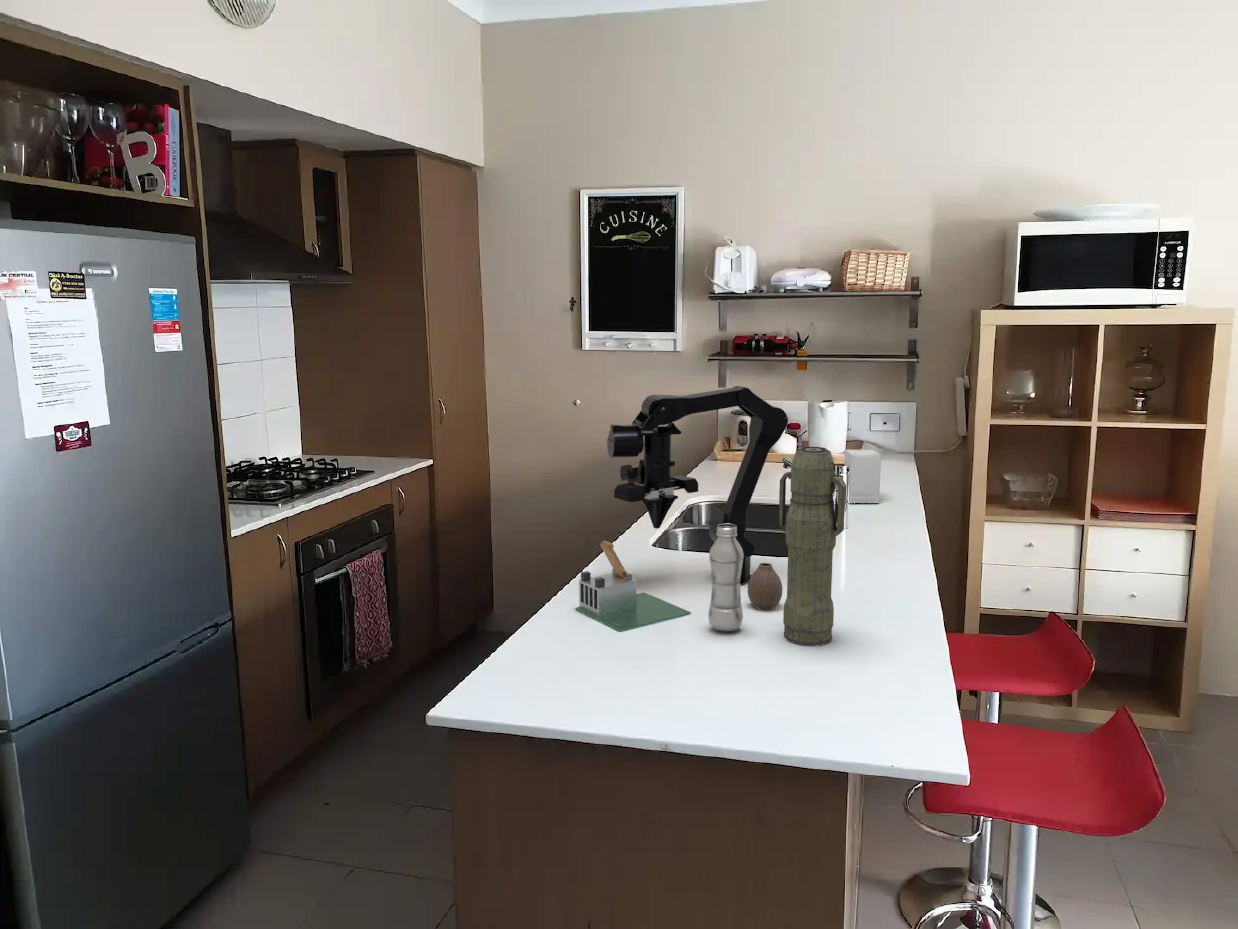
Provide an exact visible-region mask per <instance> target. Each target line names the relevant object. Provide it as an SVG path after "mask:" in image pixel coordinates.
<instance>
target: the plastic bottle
mask: <svg viewBox="0 0 1238 929" xmlns="http://www.w3.org/2000/svg"><path fill="white" fill-rule="evenodd" d="M716 535H717V536H718V539H717V540H716V541H714V542H713V544H712V546H711V547H710V548H709V552H708V554H709V563H710V571H711V595H710V597H711V598H710V604H709V609H708V621H709V625H710V626H711V628H712V629H713V630H714V631H719V632H734V631H737V630H739V629H740V627H742V624H743V620H744V613H743V607H742V600H741V596H742V595H741V584H740V581H741V570H742V564H743V556H744V554H743V550H742V548H741V546H740V544H739V543H738V541H737V540H736V538H735V537H736V536H737V527H736V525H734V524H719V525H717V533H716Z"/></svg>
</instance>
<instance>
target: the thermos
mask: <svg viewBox="0 0 1238 929" xmlns="http://www.w3.org/2000/svg"><path fill="white" fill-rule="evenodd" d="M834 461H835V460H834V458H833V455H832V451H830V450H828V448H826V447H822V446H821V447H820V446H802V447H800V448H799V449H796V450H795V453H794V455H793V458H792V461H791V463H790V464H791V465H790V471H786V472H785V473H784V474H783V475H782V476H781V477H780V479H779V493H778V494H779V495H778V496H779V497H778V500H779V501H778V503H779V504H778V505H779V506H778V521H779V522H778V524H779V529H782V530H783V532H785V544H786V547H787V548H788V549H787V581H786V582H787V584H786V599H785V601H784V605H783V612H782V613H783V616H782V618H783V619H782V621H783V622H782V623H783V626H784V629H783V630H784V631H783V638H784V639H785V638H786V639H787V640H788V641H787V640H786V639H785V640H786V641H787V642H789V643H791V644H794V645H798V644H802V645H801V646H804V645H813V646H812V647H815V646H814V645H820V646H823V645H822V644H824V645H827V644H829V643H830V641H831V642H832V640H833V633H832V631H833V627H834V615H835V614H834V612H835V611H834V602H833V599H832V583H833V582H832V581H833V555H834V553H833V552H834V549H835V547H836V545H837V544H836V543H837V536H839V535H840V534H842V533H843V531H845V513H846V502H847V501H846V487H847V486H846V484H845V482H844V478H842V477H840V476H837V474H836V473H835V472H836V471H835V470H836V468H835V467H836V465H835V462H834ZM787 479H788V480H790V493H791V495H790V496H791V498H790V500H789V507H788V508H787V509H788V510H787V513H786V497H787V496H786V492H787V491H786V490H787V488H786V487H787ZM835 484H836V486H837V487H838V490H837V494H838V495H837V512H836V511H835V508H834V506H835V505H834V504H835V503H834V502H835V501H834V498H833V496H834V495H833V494H834V493H835ZM836 513H837V514H836ZM831 639H832V640H831Z"/></svg>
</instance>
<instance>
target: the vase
mask: <svg viewBox="0 0 1238 929" xmlns="http://www.w3.org/2000/svg"><path fill="white" fill-rule="evenodd" d="M751 575H752V576H751V577H750V580H748V583H747V596H748V599H749V602H751V604H752V605H753V607H754V608H756V607H757V608H756V609H759V608H760V610H772V608H773V609H774V608H776V607H777V606H778V604H780V602H781V599H782V596H783V584H782V583H783V582H782V580H781V577H780V576H779V575H778V573H777V572H776V571H775V569H774V567H773V565H772V564H771V563H769V562H761V563H759V565H758V567H757V568H756V569H755V571H754V572H753V573H752V574H751Z"/></svg>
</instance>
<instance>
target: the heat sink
mask: <svg viewBox="0 0 1238 929" xmlns="http://www.w3.org/2000/svg"><path fill="white" fill-rule="evenodd" d="M578 590H579V592H578V595H579V596H578V599H579V602H578V603H579V606H578V607H575V611H577V612H579V613H581V614H583V615H584V616H587V617H589V618H591V619H593V620H595V619H596V620H595V621H597V620H598V621H597V622H599V623H601V624H603V625H605V626H606V627H609V626H610V627H609V628H611V629H612V630H615V631H616V632H619V633H622V632H625V631H629V630H634V629H637V628H640V627H641V628H642V627H645V626H649V625H652V624H656V623H661V622H665V621H668V620H672V619H676V618H681V617H684V616H689V615H691V613H692V612H691V611H689V610H686V609H685V608H681V607H679V606H678V605H675V604H673V603H670V602H668V601H665V600H663V599H661V598H659V597H656V596H654V595H651V594H649V593H647V592H644V591H643V592H639V593H637V579H634V578H633V573H630V572H629V573H627V574H626V579H625V578H623V577H620V576H618V575H616V573H615V571H614V569H613V568H612V572H611V573H605V574H601V575H597V576H592V577H591V572H590V571H587V570H586V571H581V572H580V579H578Z"/></svg>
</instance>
